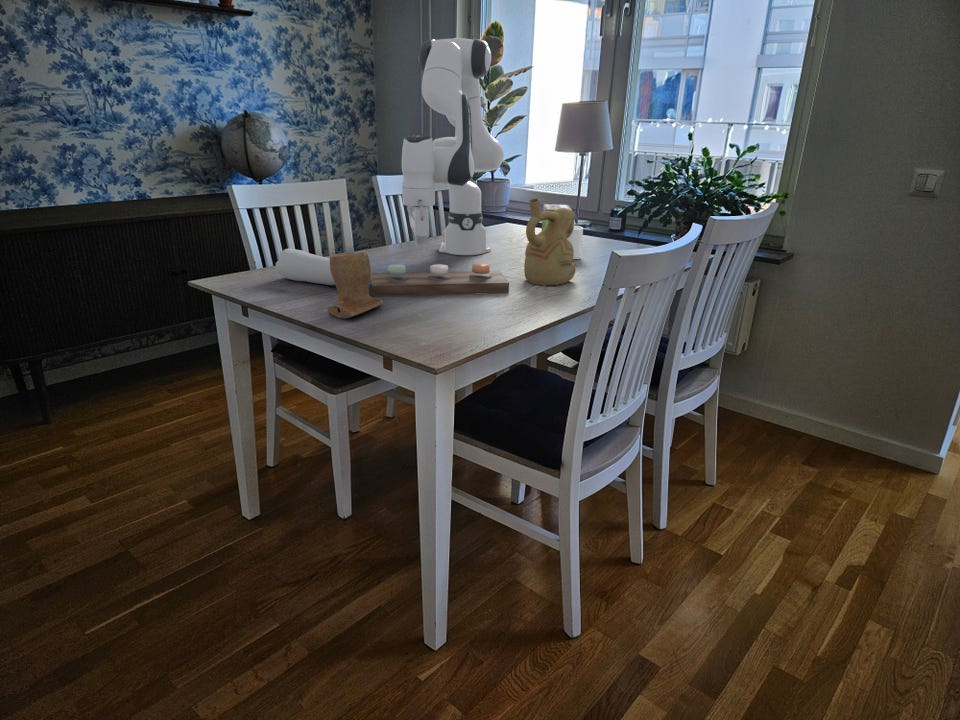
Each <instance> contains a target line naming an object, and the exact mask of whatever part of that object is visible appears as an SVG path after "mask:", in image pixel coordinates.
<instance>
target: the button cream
mask: <svg viewBox="0 0 960 720" xmlns="http://www.w3.org/2000/svg"><path fill="white" fill-rule="evenodd" d="M430 272H431V274H432V275H446V274H448V272H449V266H448V264H440V263H438V264H437V263H436V264H435V263H434V264H432V265H430Z"/></svg>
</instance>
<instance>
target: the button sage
mask: <svg viewBox="0 0 960 720" xmlns="http://www.w3.org/2000/svg"><path fill="white" fill-rule="evenodd" d="M406 269H407V268H406V265H405V264H401V263H400V264H389V265H388V266H387V273H388V274H389V275H394V276H400V275H405V274H406V272H407V271H406Z"/></svg>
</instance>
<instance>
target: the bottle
mask: <svg viewBox="0 0 960 720" xmlns="http://www.w3.org/2000/svg"><path fill="white" fill-rule="evenodd" d="M278 256H279V260H278V261H276V262H275V269H276V272H278V274H279V276H282V277H284V278H285V279H287V280H292V281H295V282H305V281H306V282H308V283H313V284H320V285H325V286H336V285H335V282H334V279H333V277H332V274H331V271H330V257H325V256H321V255H318V254H313V253H310V252H307V251H304V250H301V249H294V248H285V249H283V250H282V251H281V252H279V253H278ZM371 284H372V275H371V277H370V282H369V286H370V285H371Z"/></svg>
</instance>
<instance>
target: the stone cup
mask: <svg viewBox="0 0 960 720" xmlns="http://www.w3.org/2000/svg"><path fill="white" fill-rule="evenodd" d="M329 258H330V271H331V274H332V277H333V279H334V282H335V285H334V286H335V288H336V290H337V293H338V294H337V295H338V299H337V301H335V302H334V303H333V304H331V305H329V306H327V307H326V310H327V311H328V312H329V313H330V314H331V315H333V316H334V317H336V318H338V319H350V318H352V317H354V316H358V315H360V314H363V313H366V312H369V311H370V310H373V309H374V308H377V307H379V306H381V305H382V304H383V303H384V301H383V300H382V299H380V298H376V297H374V296H370V293H369V287H370V285H369V282H370V277H371V276H372V273H371V271H372V270H371V262H370V257H369V255H368V253H367V252H365V251H359V252H358V251H352V252H340V253H334V254H332V255H330V257H329Z"/></svg>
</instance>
